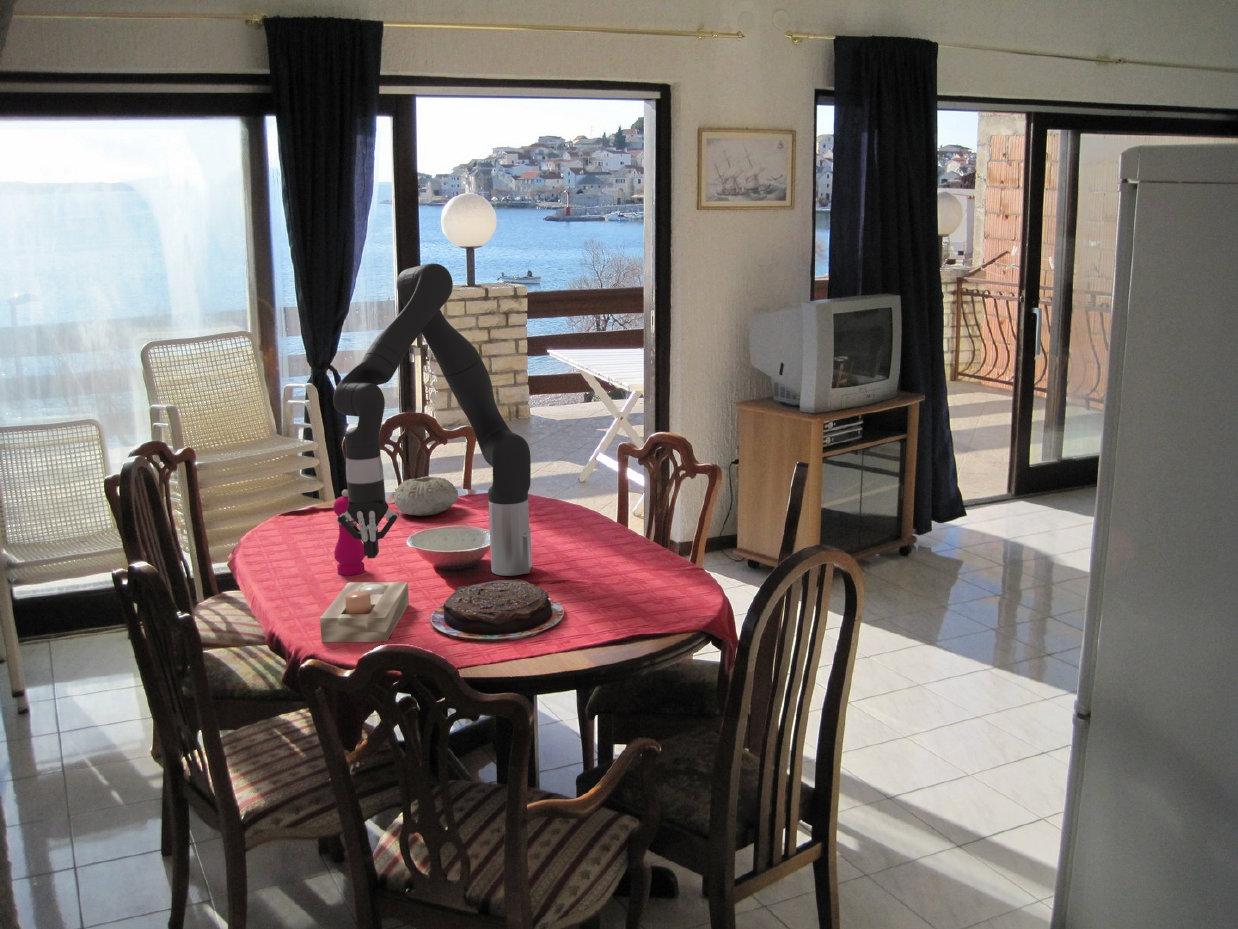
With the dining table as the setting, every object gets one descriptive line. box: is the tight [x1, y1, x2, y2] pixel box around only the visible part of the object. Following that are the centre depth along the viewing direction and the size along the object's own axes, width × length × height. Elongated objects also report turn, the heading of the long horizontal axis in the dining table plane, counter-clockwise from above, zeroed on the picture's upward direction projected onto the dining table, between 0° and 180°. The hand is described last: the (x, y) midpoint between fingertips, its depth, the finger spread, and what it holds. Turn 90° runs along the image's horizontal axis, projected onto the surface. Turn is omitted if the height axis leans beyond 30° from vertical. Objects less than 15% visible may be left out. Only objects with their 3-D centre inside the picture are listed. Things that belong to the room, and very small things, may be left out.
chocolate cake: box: [429, 579, 565, 644], centre depth 244 cm, size 28×28×7 cm
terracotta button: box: [345, 591, 371, 614], centre depth 236 cm, size 5×5×3 cm
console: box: [319, 581, 410, 643], centre depth 243 cm, size 13×22×5 cm, turn 178°
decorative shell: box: [393, 475, 459, 517], centre depth 327 cm, size 18×18×10 cm
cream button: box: [360, 584, 385, 594], centre depth 248 cm, size 5×5×3 cm
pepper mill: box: [333, 489, 366, 577], centre depth 275 cm, size 7×7×20 cm
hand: (371, 557), depth 246 cm, fingers closed
